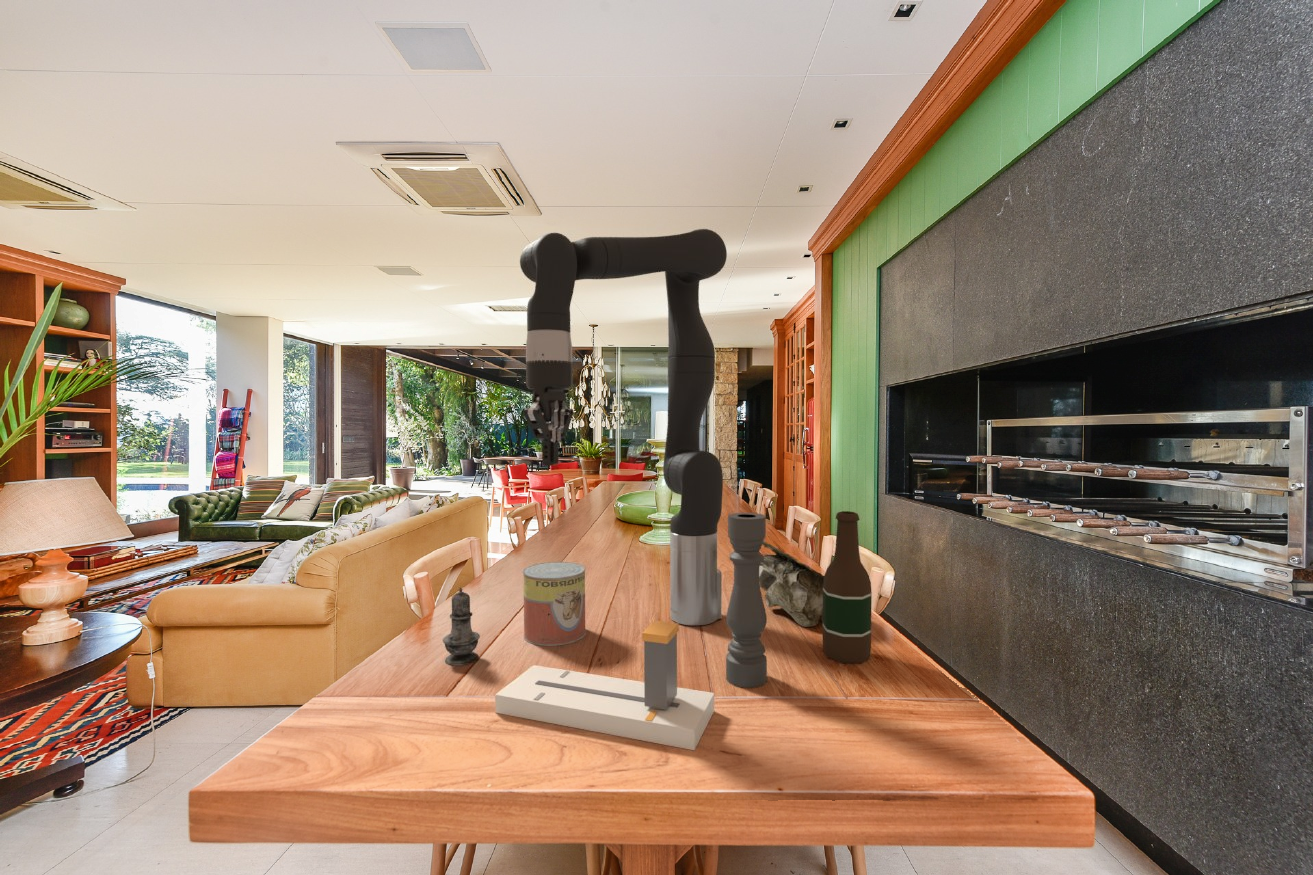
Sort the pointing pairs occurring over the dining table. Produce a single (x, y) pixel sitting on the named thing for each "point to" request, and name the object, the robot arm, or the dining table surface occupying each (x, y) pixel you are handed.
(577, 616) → the canned food
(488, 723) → the dining table surface
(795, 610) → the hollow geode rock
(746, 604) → the candle holder
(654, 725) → the fader console
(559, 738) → the dining table surface
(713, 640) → the dining table surface
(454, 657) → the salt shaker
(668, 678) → the fader knob
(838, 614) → the beer bottle
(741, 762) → the dining table surface
